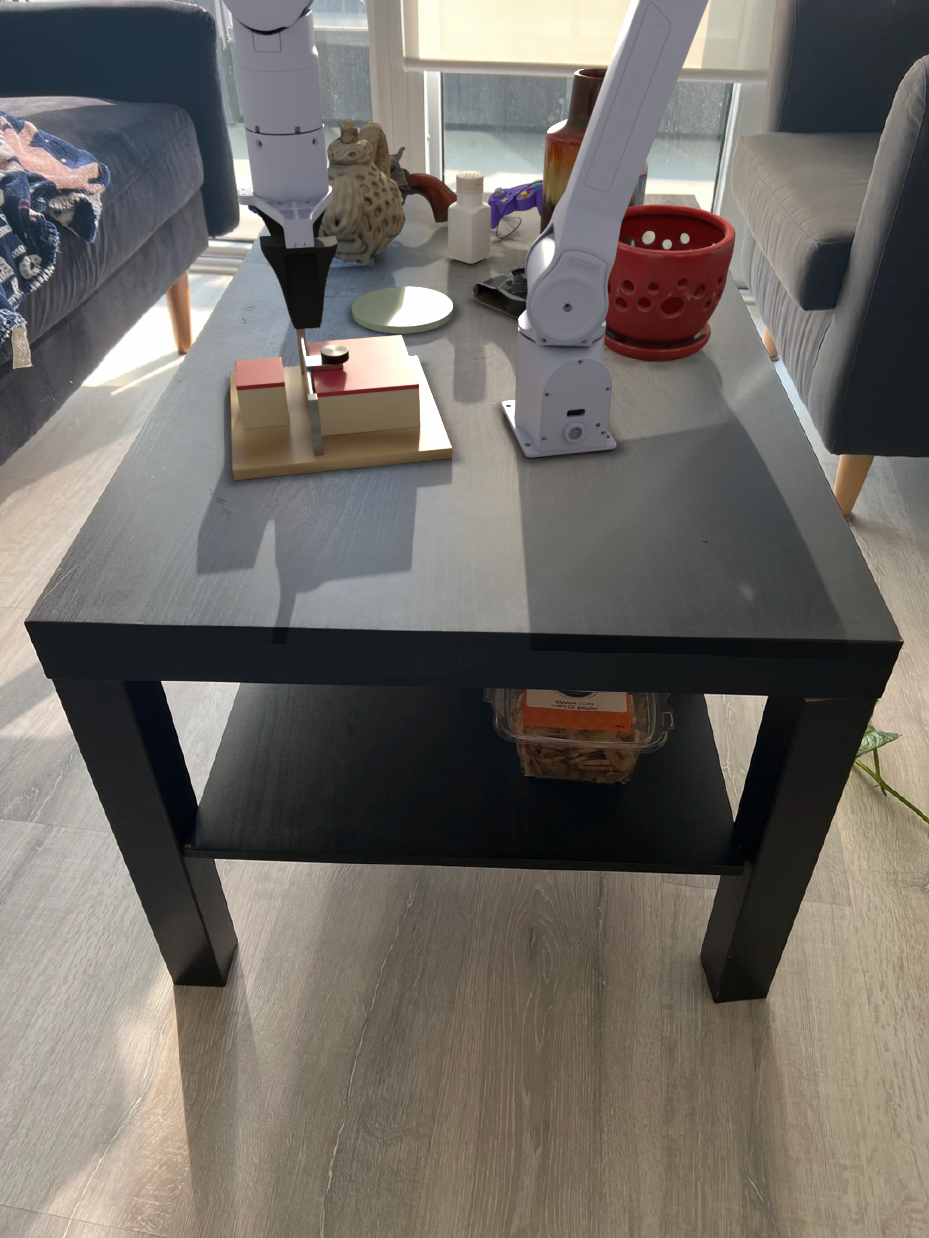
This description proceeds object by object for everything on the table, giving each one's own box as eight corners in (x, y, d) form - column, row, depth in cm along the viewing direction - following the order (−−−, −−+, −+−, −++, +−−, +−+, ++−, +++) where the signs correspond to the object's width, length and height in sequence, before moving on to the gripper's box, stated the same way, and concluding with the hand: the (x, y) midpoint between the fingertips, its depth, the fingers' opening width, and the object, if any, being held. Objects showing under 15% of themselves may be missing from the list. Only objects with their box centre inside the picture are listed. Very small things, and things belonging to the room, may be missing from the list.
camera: (503, 288, 107) (504, 250, 104) (568, 316, 101) (572, 277, 98) (470, 299, 104) (470, 261, 101) (535, 328, 98) (537, 289, 95)
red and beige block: (420, 427, 80) (419, 384, 77) (320, 436, 79) (315, 393, 76) (403, 375, 87) (401, 334, 85) (311, 383, 86) (306, 342, 83)
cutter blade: (359, 428, 78) (355, 377, 75) (314, 433, 78) (308, 381, 75) (345, 371, 87) (341, 323, 84) (305, 375, 86) (299, 326, 83)
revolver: (469, 220, 125) (441, 145, 127) (470, 202, 121) (441, 125, 123) (281, 273, 122) (255, 196, 124) (276, 256, 118) (250, 177, 121)
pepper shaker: (471, 266, 112) (472, 182, 106) (446, 259, 114) (445, 176, 107) (492, 257, 114) (494, 174, 108) (466, 250, 116) (467, 168, 110)
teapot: (384, 290, 105) (377, 146, 96) (287, 283, 107) (269, 140, 97) (424, 229, 121) (421, 100, 111) (338, 223, 123) (328, 95, 113)
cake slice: (290, 425, 80) (284, 382, 78) (243, 429, 80) (235, 386, 77) (286, 398, 84) (281, 356, 81) (241, 402, 83) (234, 360, 81)
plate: (462, 329, 98) (462, 322, 97) (358, 337, 96) (357, 330, 96) (443, 290, 106) (443, 283, 106) (347, 297, 104) (346, 290, 104)
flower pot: (574, 321, 100) (583, 204, 92) (693, 317, 100) (713, 201, 93) (599, 376, 90) (612, 250, 82) (731, 371, 91) (757, 246, 83)
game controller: (467, 210, 116) (486, 171, 122) (488, 268, 122) (505, 229, 128) (542, 192, 112) (558, 153, 118) (560, 254, 118) (574, 213, 123)
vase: (644, 275, 110) (670, 79, 97) (562, 287, 107) (577, 87, 94) (601, 245, 117) (619, 60, 104) (523, 256, 114) (532, 67, 101)
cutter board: (452, 458, 78) (452, 393, 74) (234, 480, 75) (222, 413, 71) (417, 365, 91) (415, 305, 87) (231, 381, 89) (221, 320, 85)
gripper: (227, 105, 72) (252, 278, 81) (229, 154, 62) (257, 349, 70) (318, 101, 73) (332, 273, 82) (336, 150, 63) (350, 342, 72)
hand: (303, 308), depth 76 cm, fingers open, 7 cm apart
